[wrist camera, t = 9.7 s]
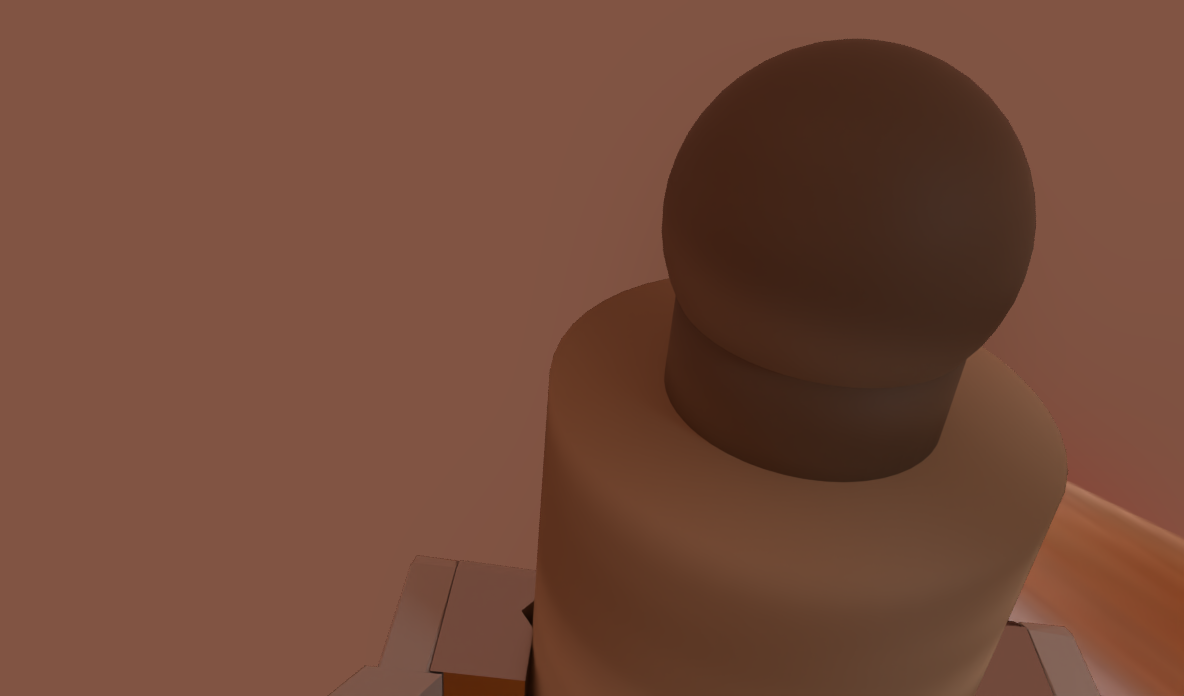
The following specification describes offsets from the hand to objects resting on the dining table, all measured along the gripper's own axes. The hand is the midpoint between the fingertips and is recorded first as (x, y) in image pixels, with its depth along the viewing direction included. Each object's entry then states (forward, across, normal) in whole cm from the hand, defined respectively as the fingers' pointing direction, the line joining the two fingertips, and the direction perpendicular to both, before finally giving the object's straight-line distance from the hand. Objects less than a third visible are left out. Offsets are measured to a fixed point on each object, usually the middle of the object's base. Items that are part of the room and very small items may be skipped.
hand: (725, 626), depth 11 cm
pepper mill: (-1, 0, +9) cm, 9 cm away
